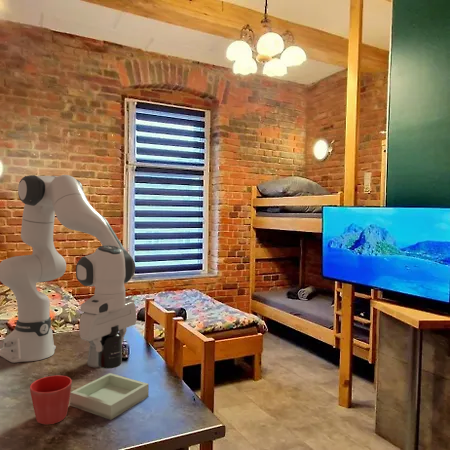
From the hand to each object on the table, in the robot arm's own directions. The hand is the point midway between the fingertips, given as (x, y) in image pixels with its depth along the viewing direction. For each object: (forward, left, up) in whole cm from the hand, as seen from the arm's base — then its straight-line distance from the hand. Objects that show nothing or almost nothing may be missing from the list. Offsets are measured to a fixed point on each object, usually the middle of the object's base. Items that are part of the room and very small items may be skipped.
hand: (110, 346), depth 124 cm
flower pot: (-7, -15, -17) cm, 24 cm away
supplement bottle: (0, 0, -6) cm, 6 cm away
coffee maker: (-25, +21, -17) cm, 37 cm away
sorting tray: (0, 0, -16) cm, 16 cm away
